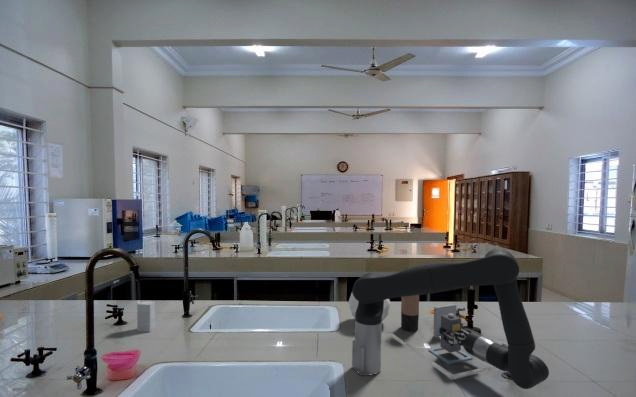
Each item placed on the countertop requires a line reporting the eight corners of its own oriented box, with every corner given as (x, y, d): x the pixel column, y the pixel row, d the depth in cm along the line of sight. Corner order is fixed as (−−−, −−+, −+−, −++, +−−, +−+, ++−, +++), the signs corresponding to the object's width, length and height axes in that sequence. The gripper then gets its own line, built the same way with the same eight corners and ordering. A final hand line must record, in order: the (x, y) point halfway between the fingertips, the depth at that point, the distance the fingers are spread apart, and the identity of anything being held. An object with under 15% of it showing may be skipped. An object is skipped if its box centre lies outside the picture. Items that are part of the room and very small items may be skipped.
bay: (449, 349, 135) (450, 314, 135) (433, 339, 144) (434, 306, 143) (470, 344, 139) (471, 311, 139) (453, 335, 148) (454, 303, 148)
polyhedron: (375, 341, 156) (380, 317, 144) (339, 317, 166) (341, 293, 154) (394, 312, 168) (400, 287, 156) (360, 292, 178) (363, 267, 165)
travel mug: (414, 336, 146) (415, 290, 146) (397, 332, 151) (398, 287, 150) (420, 331, 152) (421, 287, 152) (404, 326, 157) (405, 283, 157)
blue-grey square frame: (449, 368, 121) (449, 362, 120) (428, 354, 131) (428, 349, 131) (472, 362, 125) (472, 357, 125) (450, 349, 135) (450, 344, 135)
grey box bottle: (450, 352, 124) (451, 317, 124) (440, 346, 129) (441, 313, 129) (460, 350, 126) (461, 315, 126) (450, 344, 131) (451, 311, 130)
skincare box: (155, 328, 151) (155, 301, 151) (149, 332, 147) (150, 304, 147) (142, 327, 152) (142, 301, 152) (136, 331, 148) (136, 304, 147)
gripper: (497, 333, 117) (460, 316, 132) (466, 340, 111) (430, 321, 127) (497, 355, 117) (459, 335, 133) (465, 362, 111) (430, 341, 127)
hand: (445, 329), depth 130 cm, fingers closed on grey box bottle, 5 cm apart
